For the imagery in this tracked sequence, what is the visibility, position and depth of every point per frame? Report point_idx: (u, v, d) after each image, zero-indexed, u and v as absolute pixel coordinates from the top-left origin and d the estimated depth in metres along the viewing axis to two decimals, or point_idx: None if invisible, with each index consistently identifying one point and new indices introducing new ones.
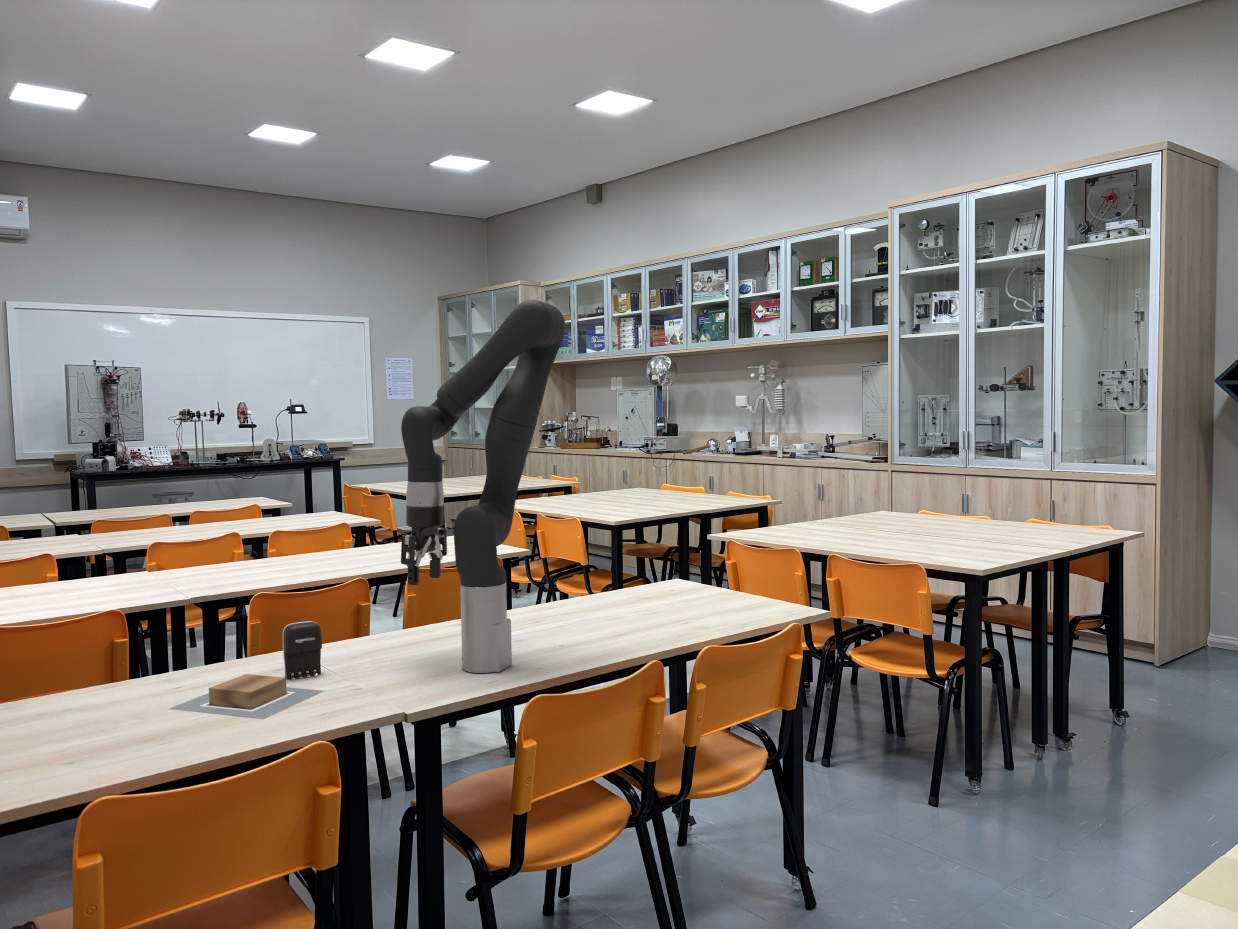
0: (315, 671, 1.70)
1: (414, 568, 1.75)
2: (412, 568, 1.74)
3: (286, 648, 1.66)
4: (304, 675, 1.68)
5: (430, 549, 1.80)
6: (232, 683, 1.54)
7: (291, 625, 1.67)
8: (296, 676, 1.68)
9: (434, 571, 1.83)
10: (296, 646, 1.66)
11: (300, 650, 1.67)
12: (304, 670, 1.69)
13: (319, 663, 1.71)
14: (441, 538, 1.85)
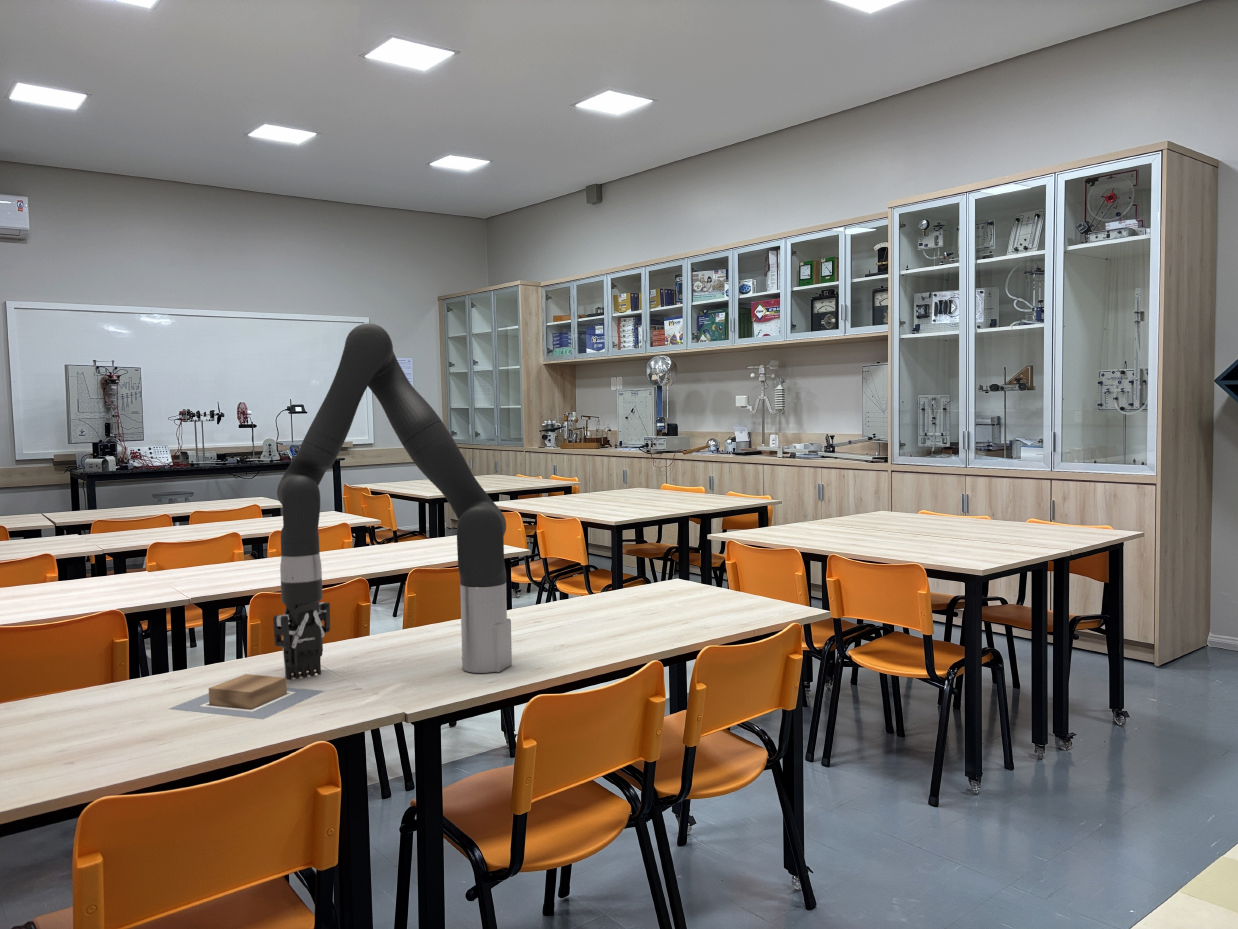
0: (315, 671, 1.70)
1: (290, 650, 1.64)
2: (288, 650, 1.64)
3: None
4: (304, 675, 1.68)
5: None
6: (232, 683, 1.54)
7: None
8: (296, 676, 1.68)
9: None
10: (296, 646, 1.66)
11: (300, 650, 1.67)
12: (304, 670, 1.69)
13: (319, 663, 1.71)
14: (323, 613, 1.74)
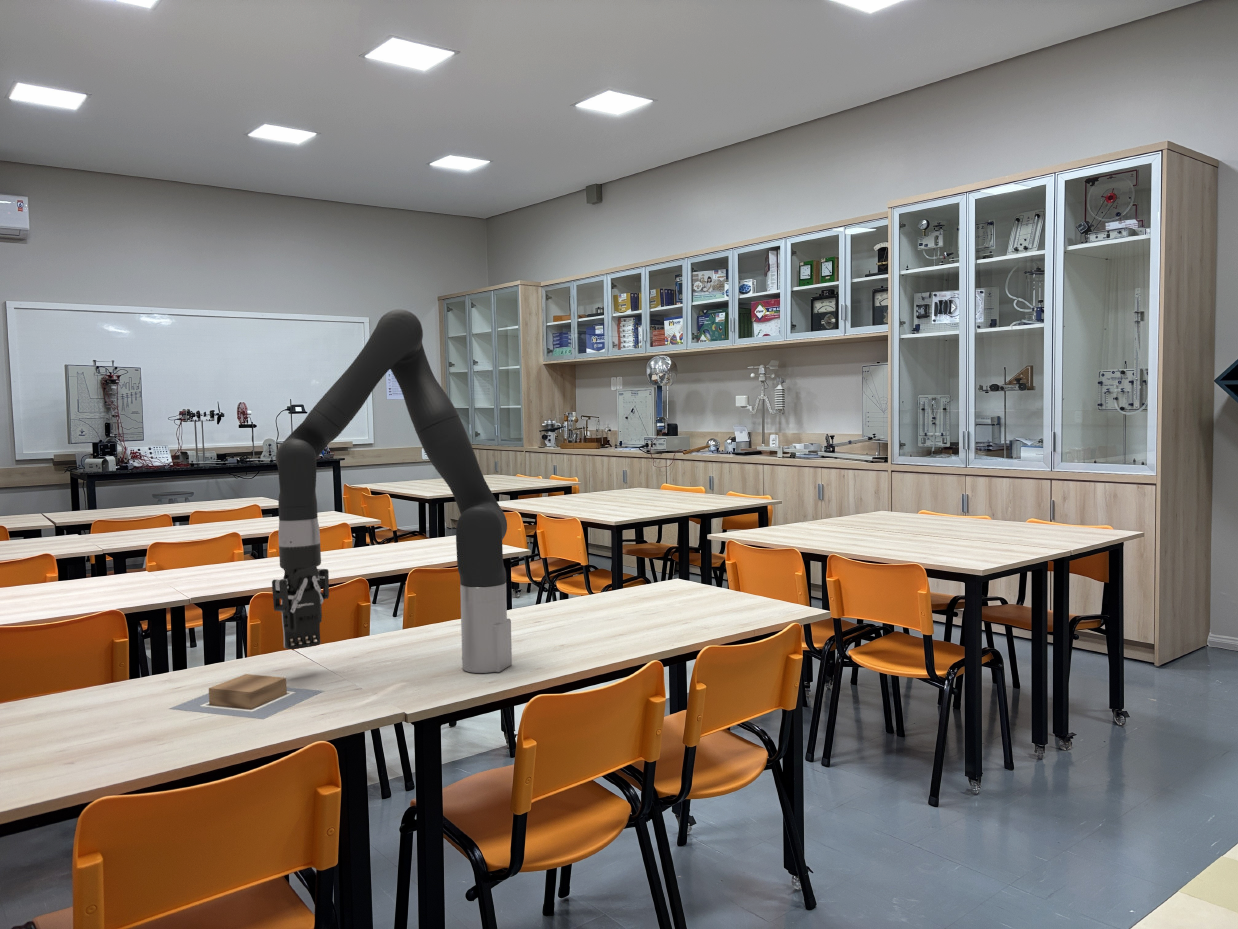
0: (314, 637, 1.69)
1: (290, 614, 1.64)
2: (287, 614, 1.63)
3: None
4: (303, 641, 1.68)
5: None
6: (232, 683, 1.54)
7: None
8: (295, 642, 1.67)
9: None
10: (295, 611, 1.65)
11: (299, 615, 1.66)
12: (303, 636, 1.68)
13: (318, 629, 1.70)
14: (322, 580, 1.73)
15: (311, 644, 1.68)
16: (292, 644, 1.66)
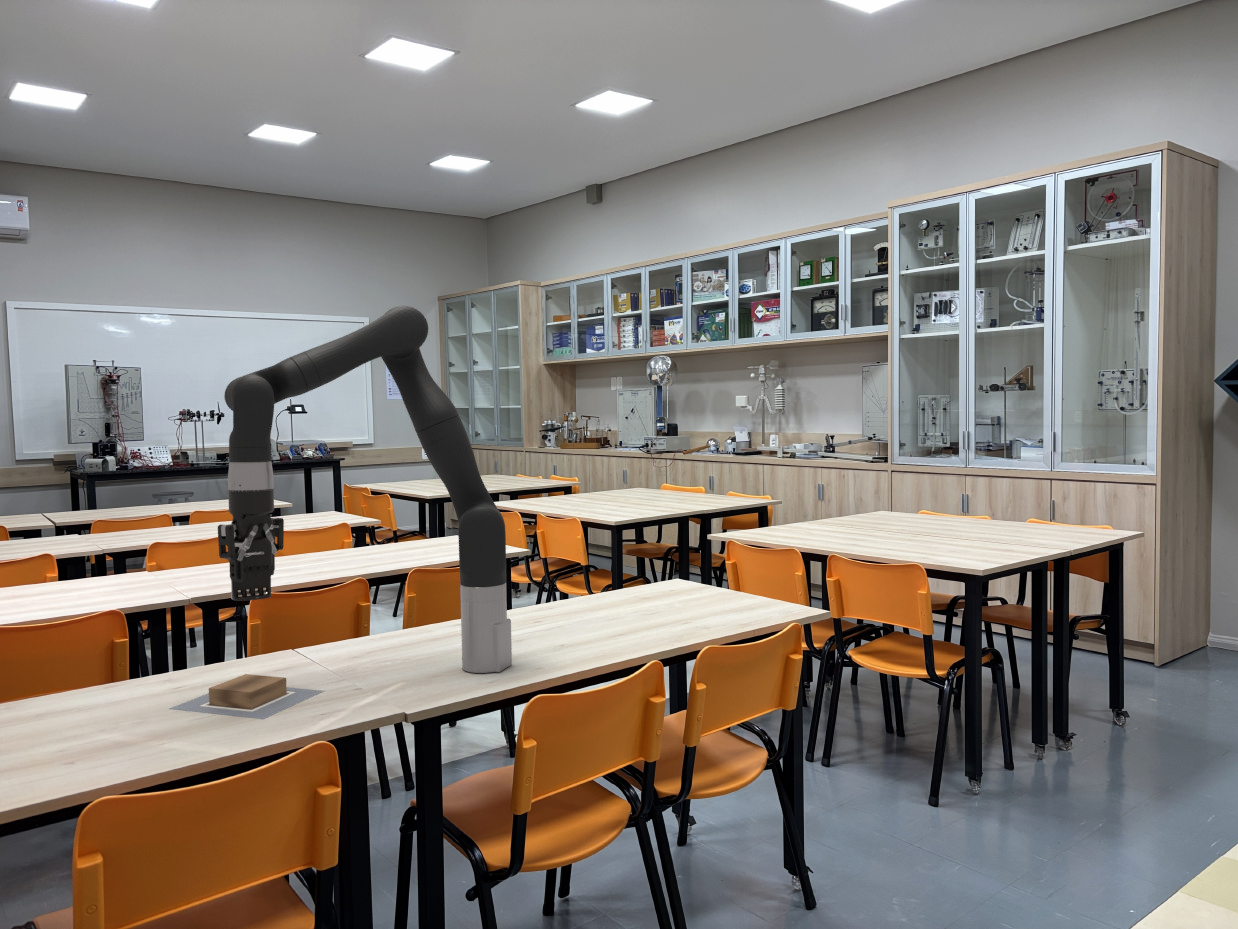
0: (265, 589, 1.58)
1: (236, 563, 1.52)
2: (234, 563, 1.52)
3: None
4: (252, 592, 1.56)
5: None
6: (232, 683, 1.54)
7: None
8: (243, 593, 1.55)
9: None
10: (243, 559, 1.54)
11: (247, 564, 1.54)
12: (252, 587, 1.57)
13: (269, 581, 1.58)
14: (276, 529, 1.61)
15: (260, 596, 1.56)
16: (239, 595, 1.55)
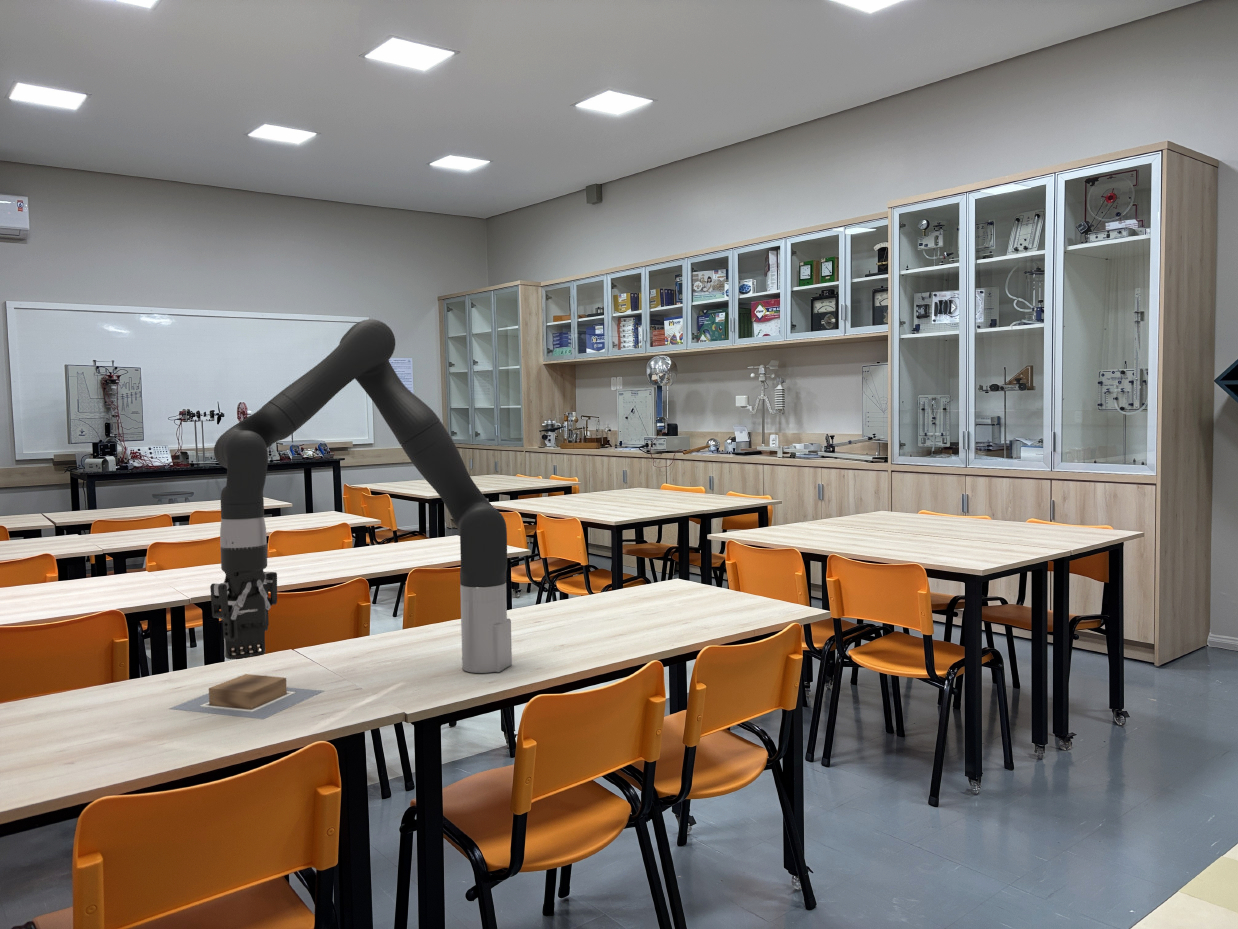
0: (259, 646, 1.55)
1: (230, 622, 1.50)
2: (227, 622, 1.49)
3: None
4: (246, 650, 1.54)
5: None
6: (232, 683, 1.54)
7: None
8: (237, 651, 1.53)
9: None
10: (236, 617, 1.52)
11: (241, 622, 1.52)
12: (246, 645, 1.54)
13: (263, 637, 1.56)
14: (270, 584, 1.59)
15: (254, 654, 1.54)
16: (233, 654, 1.52)
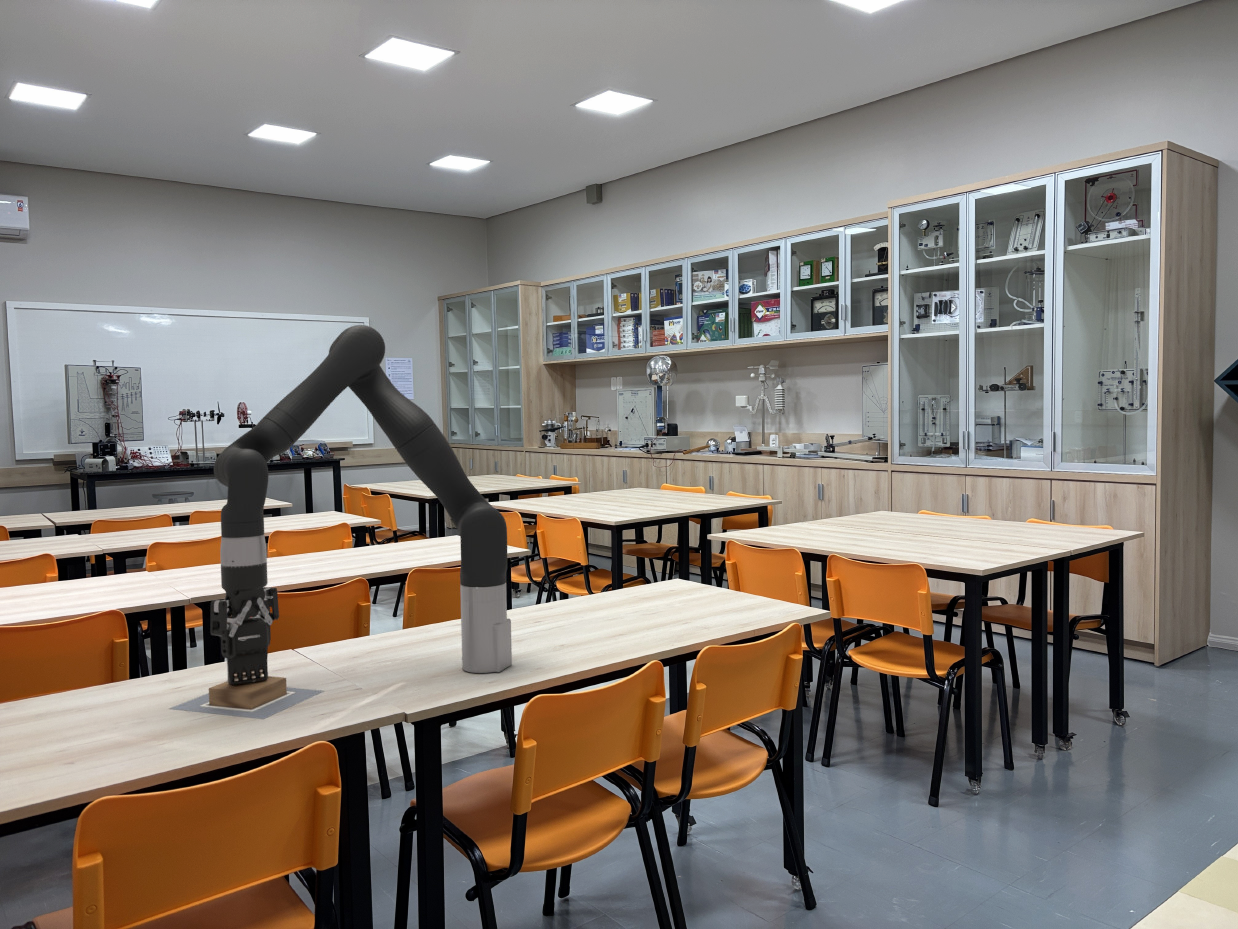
0: (261, 671, 1.56)
1: (228, 639, 1.49)
2: (225, 639, 1.49)
3: None
4: (249, 676, 1.54)
5: (252, 614, 1.54)
6: None
7: None
8: (240, 677, 1.53)
9: None
10: (239, 644, 1.52)
11: (243, 648, 1.52)
12: (249, 670, 1.55)
13: (266, 663, 1.56)
14: (270, 599, 1.59)
15: (257, 680, 1.54)
16: (236, 680, 1.53)
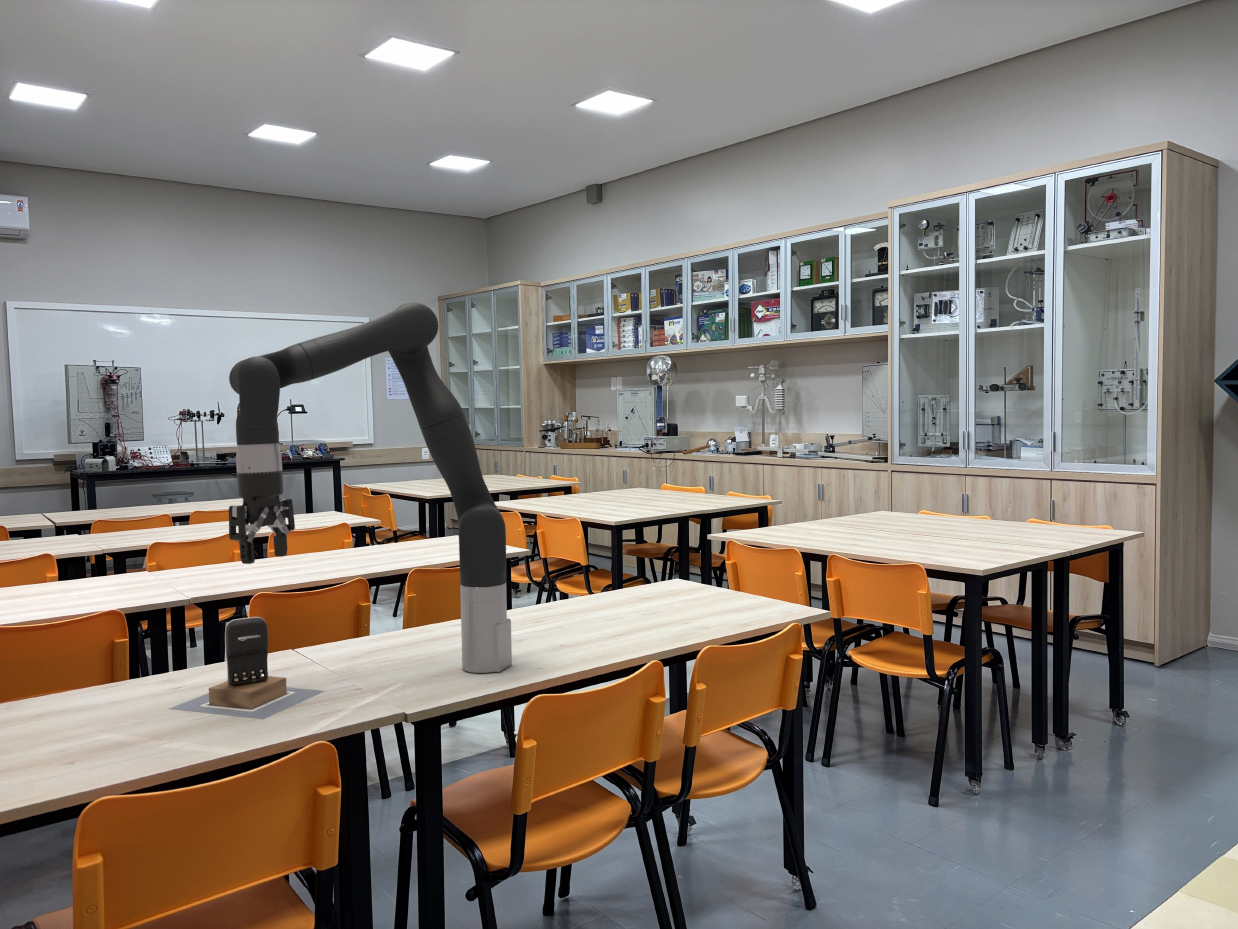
0: (261, 671, 1.56)
1: (247, 544, 1.51)
2: (244, 544, 1.50)
3: (228, 646, 1.52)
4: (249, 676, 1.54)
5: (269, 522, 1.56)
6: None
7: (234, 621, 1.53)
8: (240, 677, 1.53)
9: (279, 548, 1.60)
10: (238, 644, 1.52)
11: (243, 648, 1.52)
12: (249, 670, 1.55)
13: (266, 663, 1.56)
14: (286, 510, 1.61)
15: (257, 680, 1.54)
16: (236, 680, 1.53)
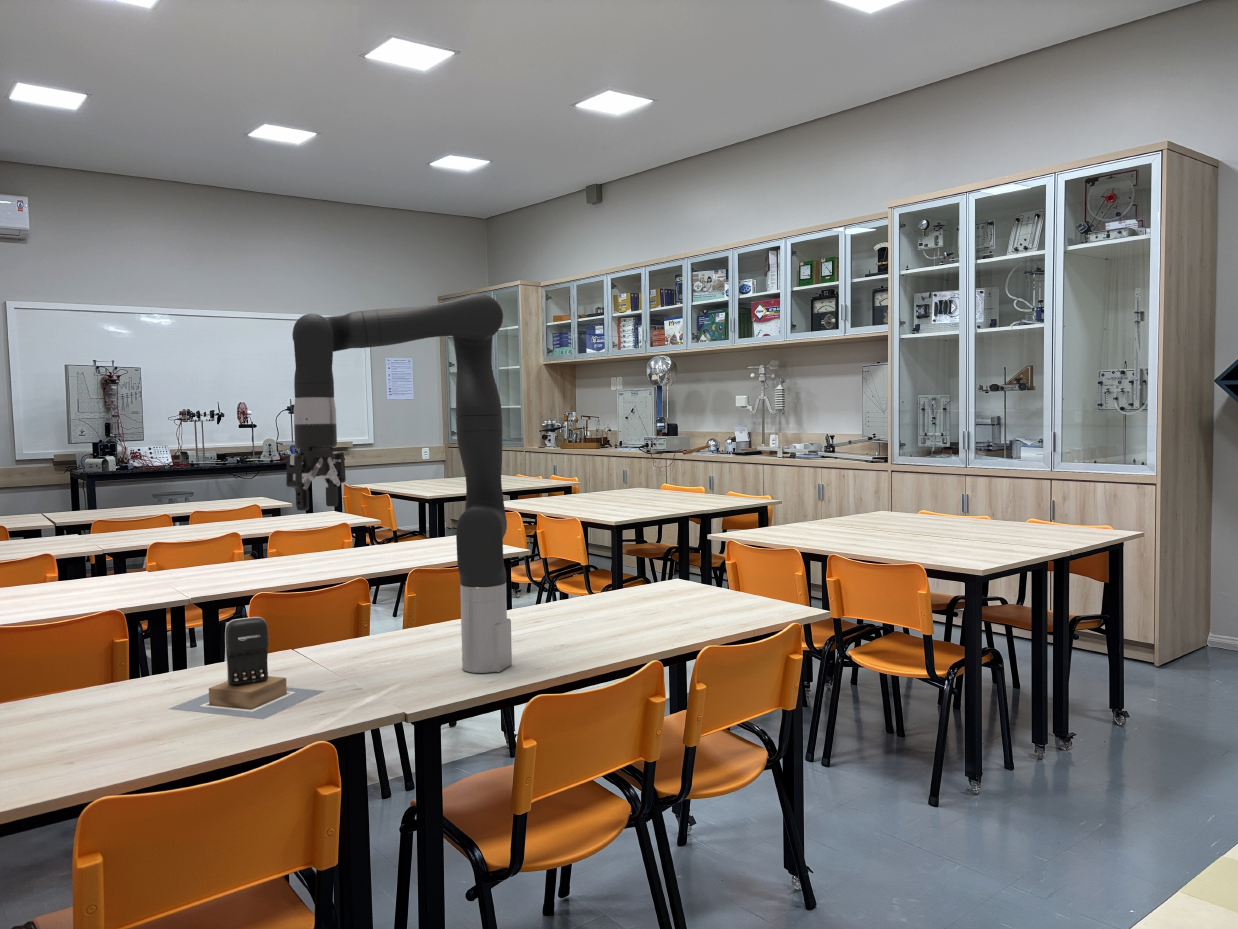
0: (261, 671, 1.56)
1: (302, 491, 1.59)
2: (300, 491, 1.58)
3: (228, 646, 1.52)
4: (249, 676, 1.54)
5: (323, 473, 1.64)
6: None
7: (234, 621, 1.53)
8: (240, 677, 1.53)
9: (330, 499, 1.67)
10: (238, 644, 1.52)
11: (243, 648, 1.52)
12: (249, 670, 1.55)
13: (266, 663, 1.56)
14: (338, 463, 1.69)
15: (257, 680, 1.54)
16: (236, 680, 1.53)
